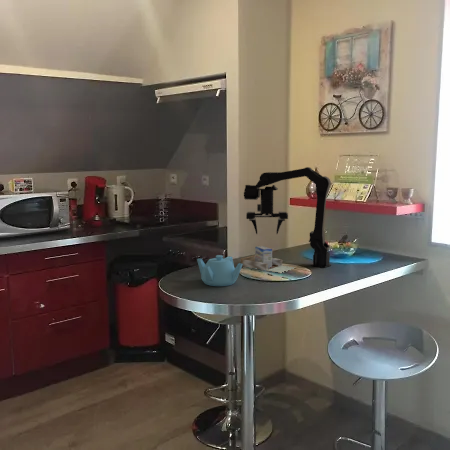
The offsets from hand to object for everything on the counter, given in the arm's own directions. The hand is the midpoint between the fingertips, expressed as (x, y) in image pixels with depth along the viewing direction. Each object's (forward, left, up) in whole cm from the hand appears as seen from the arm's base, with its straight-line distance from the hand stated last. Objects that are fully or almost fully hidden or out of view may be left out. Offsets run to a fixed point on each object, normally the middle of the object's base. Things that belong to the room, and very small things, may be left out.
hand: (266, 234), depth 236 cm
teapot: (-8, +43, -13) cm, 46 cm away
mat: (-14, +9, -13) cm, 21 cm away
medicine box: (-5, +9, -13) cm, 17 cm away
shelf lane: (-4, +9, -13) cm, 16 cm away
